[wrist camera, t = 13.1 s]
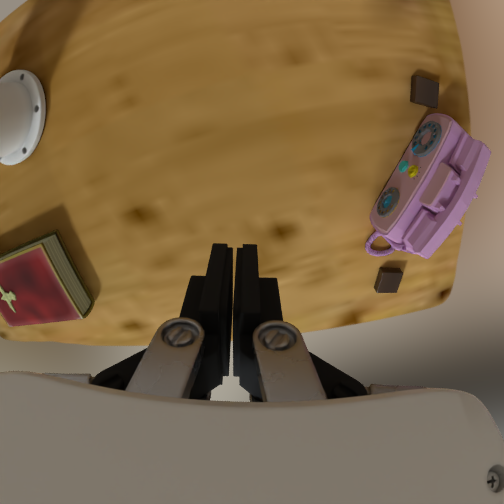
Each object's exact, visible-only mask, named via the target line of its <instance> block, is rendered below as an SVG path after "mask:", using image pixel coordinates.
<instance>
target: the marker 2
mask: <svg viewBox="0 0 504 504" xmlns="http://www.w3.org/2000/svg"><path fill="white" fill-rule="evenodd" d="M438 92H439V83H437V82H434V81H432V80H429V79H426V78H423V77H420V76H412V77H411V95H410V102H413V103H417V104H420V105H424V106H427V107H430V108H436V109H437V106H438Z"/></svg>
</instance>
